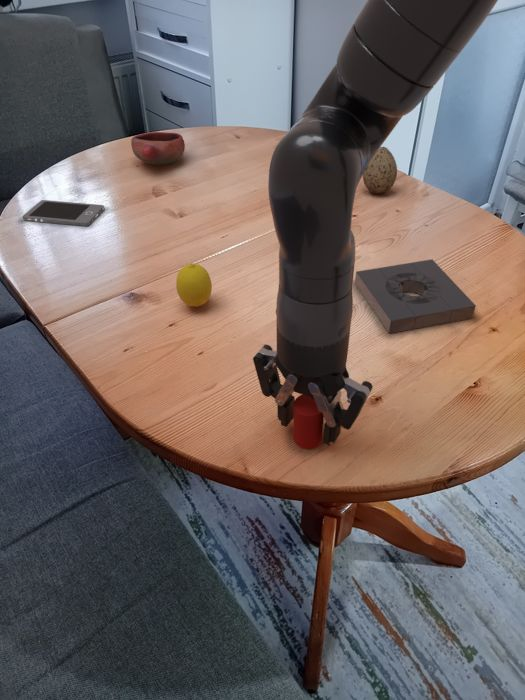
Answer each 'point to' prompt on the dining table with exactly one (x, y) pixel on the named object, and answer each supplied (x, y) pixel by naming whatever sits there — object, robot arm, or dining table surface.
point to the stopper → (307, 423)
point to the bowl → (158, 147)
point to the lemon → (193, 285)
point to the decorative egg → (380, 172)
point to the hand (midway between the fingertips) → (307, 430)
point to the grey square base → (413, 311)
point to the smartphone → (64, 212)
